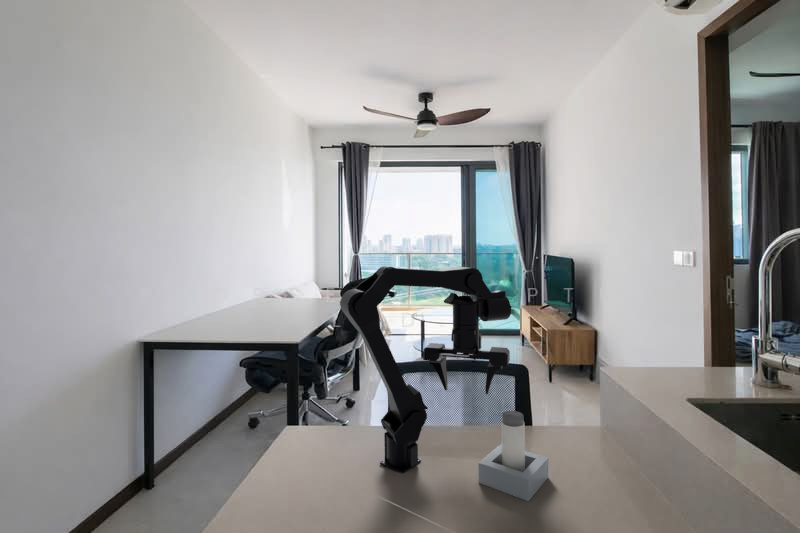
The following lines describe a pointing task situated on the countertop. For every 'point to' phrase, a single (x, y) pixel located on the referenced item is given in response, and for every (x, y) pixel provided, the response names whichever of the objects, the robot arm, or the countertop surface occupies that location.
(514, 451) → the white plastic bottle
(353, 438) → the countertop surface
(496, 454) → the socket block
